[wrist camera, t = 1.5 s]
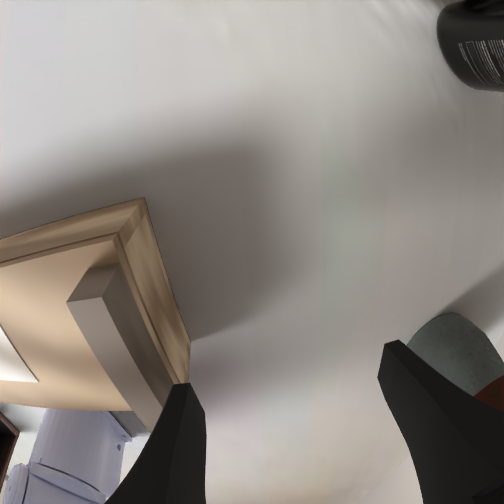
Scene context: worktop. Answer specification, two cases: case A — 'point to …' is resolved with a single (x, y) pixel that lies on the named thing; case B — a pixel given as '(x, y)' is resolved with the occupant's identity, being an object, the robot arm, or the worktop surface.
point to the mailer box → (138, 260)
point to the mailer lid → (79, 334)
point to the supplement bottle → (474, 42)
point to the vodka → (462, 357)
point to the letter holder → (6, 445)
